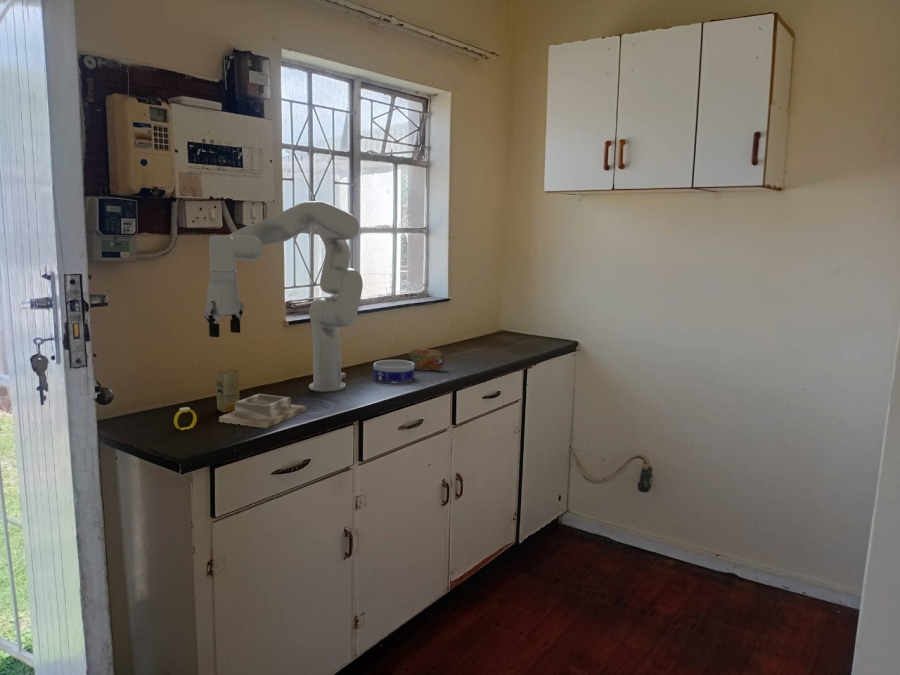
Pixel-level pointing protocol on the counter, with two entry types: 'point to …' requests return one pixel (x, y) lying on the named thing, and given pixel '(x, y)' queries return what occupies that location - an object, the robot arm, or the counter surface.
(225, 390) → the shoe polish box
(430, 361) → the food package
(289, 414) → the socket board
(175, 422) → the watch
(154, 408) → the counter surface
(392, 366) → the dog bowl
